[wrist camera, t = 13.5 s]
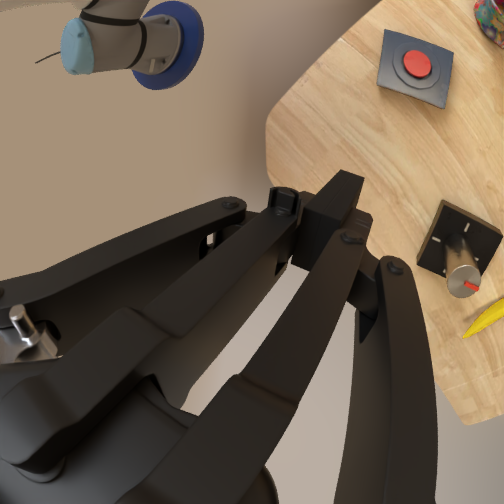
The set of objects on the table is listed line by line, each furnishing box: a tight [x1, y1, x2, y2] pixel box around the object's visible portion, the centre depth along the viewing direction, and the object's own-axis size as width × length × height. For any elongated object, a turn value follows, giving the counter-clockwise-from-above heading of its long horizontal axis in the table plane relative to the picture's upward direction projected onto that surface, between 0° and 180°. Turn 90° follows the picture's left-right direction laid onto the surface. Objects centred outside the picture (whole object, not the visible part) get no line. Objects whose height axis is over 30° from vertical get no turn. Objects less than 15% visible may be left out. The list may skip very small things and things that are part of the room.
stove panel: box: [417, 200, 503, 278], centre depth 33 cm, size 12×11×3 cm
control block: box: [377, 29, 454, 109], centre depth 24 cm, size 10×9×4 cm
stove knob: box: [442, 234, 481, 298], centre depth 29 cm, size 5×5×9 cm
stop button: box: [404, 50, 431, 78], centre depth 23 cm, size 4×4×2 cm
